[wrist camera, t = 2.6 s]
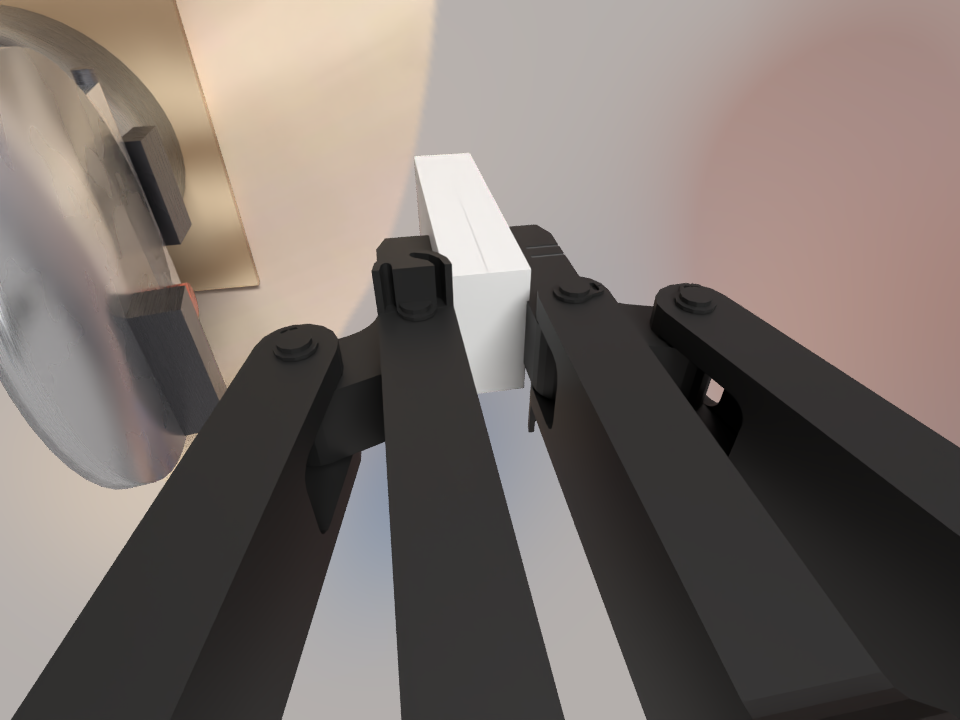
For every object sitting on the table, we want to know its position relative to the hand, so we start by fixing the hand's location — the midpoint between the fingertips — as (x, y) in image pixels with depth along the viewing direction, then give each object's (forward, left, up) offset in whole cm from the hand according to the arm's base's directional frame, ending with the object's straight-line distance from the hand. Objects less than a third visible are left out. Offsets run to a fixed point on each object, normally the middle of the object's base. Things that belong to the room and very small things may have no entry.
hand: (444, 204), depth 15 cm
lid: (+4, -12, -5) cm, 13 cm away
